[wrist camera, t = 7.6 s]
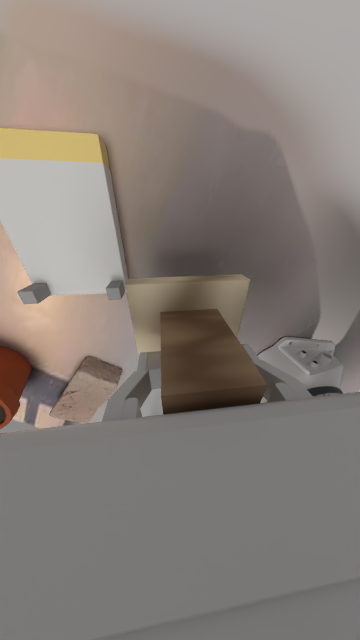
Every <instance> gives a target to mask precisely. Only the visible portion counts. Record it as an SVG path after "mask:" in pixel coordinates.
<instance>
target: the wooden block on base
mask: <svg viewBox="0 0 360 640" xmlns="http://www.w3.org/2000/svg"><path fill="white" fill-rule="evenodd" d="M249 284H250V279H248V278H247V277H245V276H244V275H242V274H232V275H206V276H180V277H154V278H129V279H128V280H127V282H126V284H125V288H126V293H127V298H128V303H129V308H130V314H131V319H132V324H133V329H134V334H135V339H136V344H137V350H138V355H139V354H140V352H155V351H161V398H162V407H163V415H165V414H173V413H182V412H191V411H199V410H208V409H217V408H226V407H234V406H243V405H251V404H260V401H261V399H262V397H263V395H264V392H265V390H266V388H267V386H268V384H267V382H266V381H265V379H264V378H263V376H262V375H261V374H260V372H259V371H258V369H257V368H256V366H255V365H254V363H253V362H252V360H251V359H250V357H249V356H248V354H247V353H246V351H245V350H244V348H243V347H242V345H241V344H240V342H239V341H238V339H237V336H238V332H239V328H240V323H241V319H242V314H243V310H244V306H245V301H246V297H247V293H248V288H249Z"/></svg>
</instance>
